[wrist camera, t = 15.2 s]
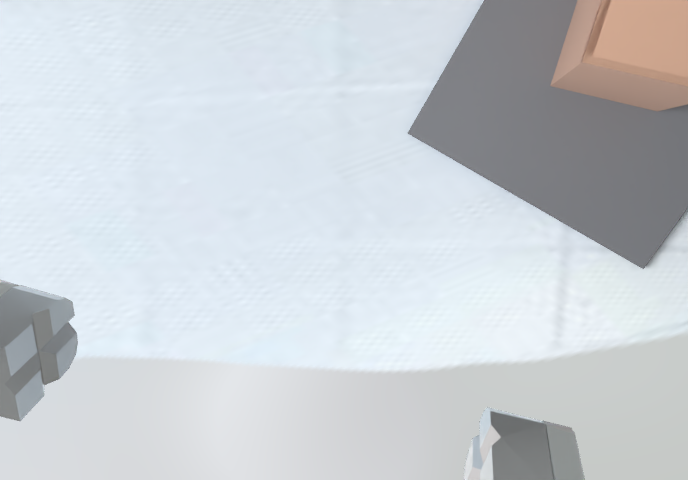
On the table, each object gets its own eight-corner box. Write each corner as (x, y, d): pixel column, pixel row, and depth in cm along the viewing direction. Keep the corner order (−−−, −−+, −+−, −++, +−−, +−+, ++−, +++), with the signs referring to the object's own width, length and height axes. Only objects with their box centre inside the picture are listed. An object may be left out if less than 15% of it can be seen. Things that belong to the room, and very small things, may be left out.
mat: (408, 133, 34) (401, 129, 30) (597, -195, 30) (625, -262, 25) (641, 267, 33) (673, 285, 28) (875, -57, 29) (960, -101, 24)
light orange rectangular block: (550, 86, 32) (582, 62, 24) (584, -22, 31) (629, -83, 23) (657, 111, 31) (725, 95, 23) (696, 1, 30) (782, -55, 22)
